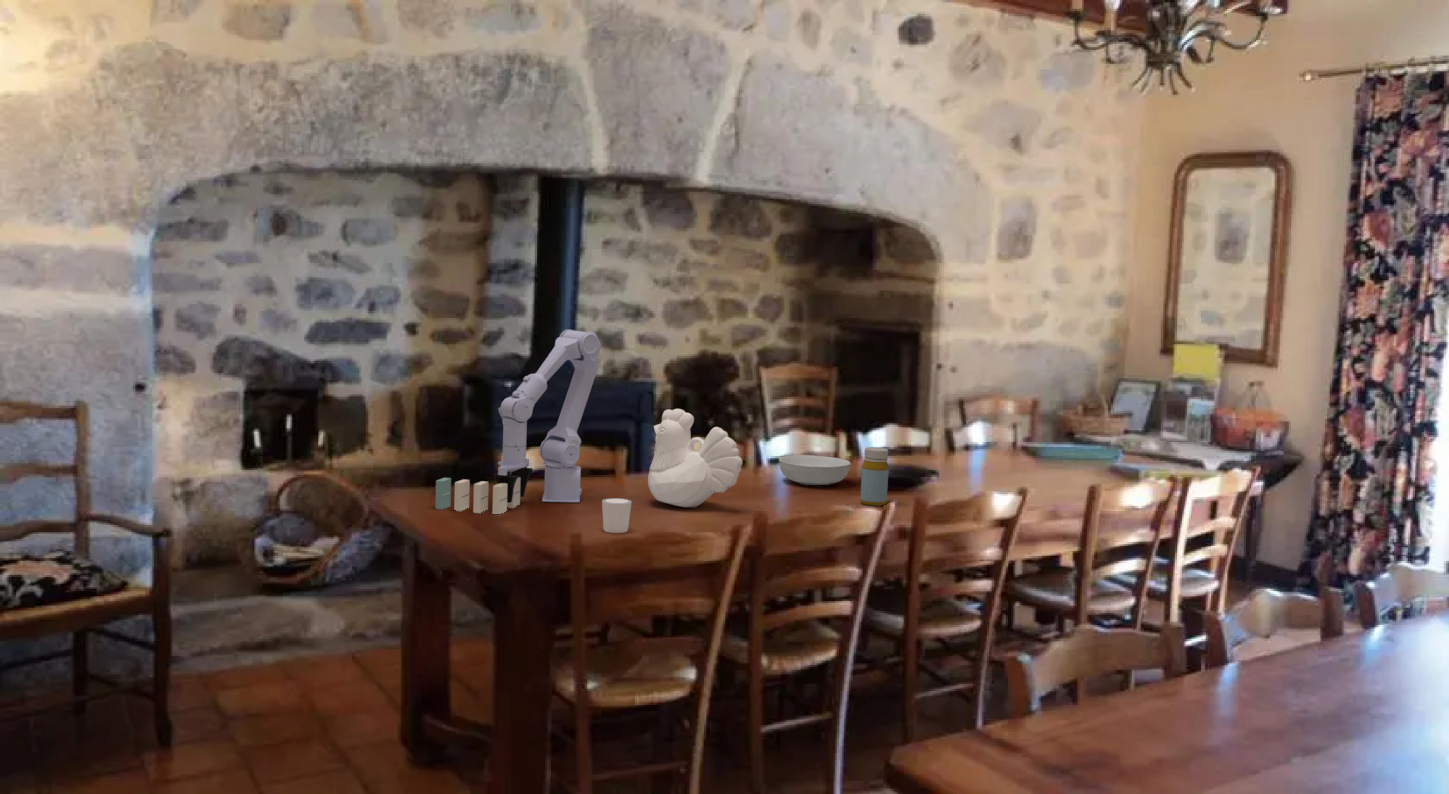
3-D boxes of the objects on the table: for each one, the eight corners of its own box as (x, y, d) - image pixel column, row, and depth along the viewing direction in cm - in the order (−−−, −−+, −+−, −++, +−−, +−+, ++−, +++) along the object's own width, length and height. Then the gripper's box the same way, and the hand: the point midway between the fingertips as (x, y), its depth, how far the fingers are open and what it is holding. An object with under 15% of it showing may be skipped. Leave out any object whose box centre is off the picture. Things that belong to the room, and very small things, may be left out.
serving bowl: (861, 483, 350) (862, 460, 350) (828, 493, 333) (829, 469, 332) (799, 474, 361) (800, 451, 361) (764, 483, 344) (765, 459, 343)
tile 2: (469, 508, 293) (470, 480, 293) (461, 511, 289) (462, 483, 288) (462, 507, 294) (462, 479, 293) (454, 510, 290) (454, 482, 289)
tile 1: (450, 506, 294) (451, 478, 294) (442, 509, 290) (443, 481, 289) (443, 505, 295) (444, 477, 294) (435, 508, 291) (435, 480, 290)
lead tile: (520, 504, 300) (520, 477, 299) (513, 508, 295) (513, 480, 295) (513, 504, 300) (513, 476, 299) (506, 507, 296) (506, 479, 295)
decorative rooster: (634, 503, 307) (637, 408, 304) (672, 495, 320) (676, 403, 317) (711, 520, 292) (715, 419, 289) (748, 510, 305) (753, 414, 302)
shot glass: (601, 526, 280) (602, 497, 279) (630, 527, 281) (631, 498, 280) (600, 533, 273) (601, 503, 272) (630, 534, 274) (631, 504, 273)
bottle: (888, 503, 323) (892, 448, 321) (883, 507, 316) (886, 452, 315) (863, 500, 325) (866, 446, 324) (857, 504, 319) (860, 449, 317)
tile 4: (507, 511, 291) (507, 483, 290) (499, 515, 287) (500, 486, 286) (500, 511, 292) (500, 483, 291) (492, 514, 287) (493, 486, 286)
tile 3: (488, 509, 292) (488, 481, 291) (480, 513, 288) (481, 485, 287) (481, 509, 293) (481, 481, 292) (473, 512, 288) (473, 484, 288)
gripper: (511, 440, 304) (509, 492, 305) (487, 448, 290) (485, 503, 291) (537, 442, 302) (535, 495, 304) (514, 450, 288) (512, 505, 290)
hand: (513, 499), depth 297 cm, fingers open, 7 cm apart
